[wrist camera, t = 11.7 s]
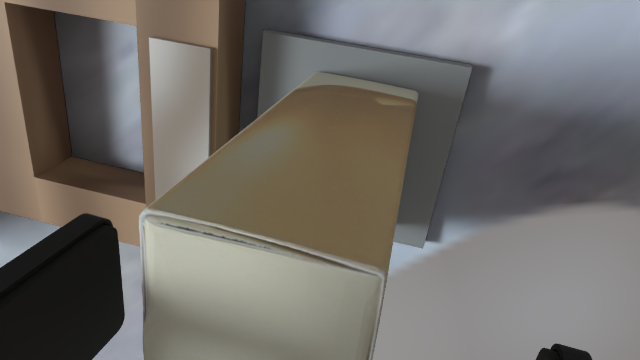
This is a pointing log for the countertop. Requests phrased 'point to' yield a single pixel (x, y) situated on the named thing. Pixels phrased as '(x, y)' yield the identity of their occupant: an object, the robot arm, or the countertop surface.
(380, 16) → the countertop surface
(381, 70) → the pad
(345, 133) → the skincare box
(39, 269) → the robot arm
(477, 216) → the countertop surface
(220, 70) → the wooden square frame
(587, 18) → the countertop surface
